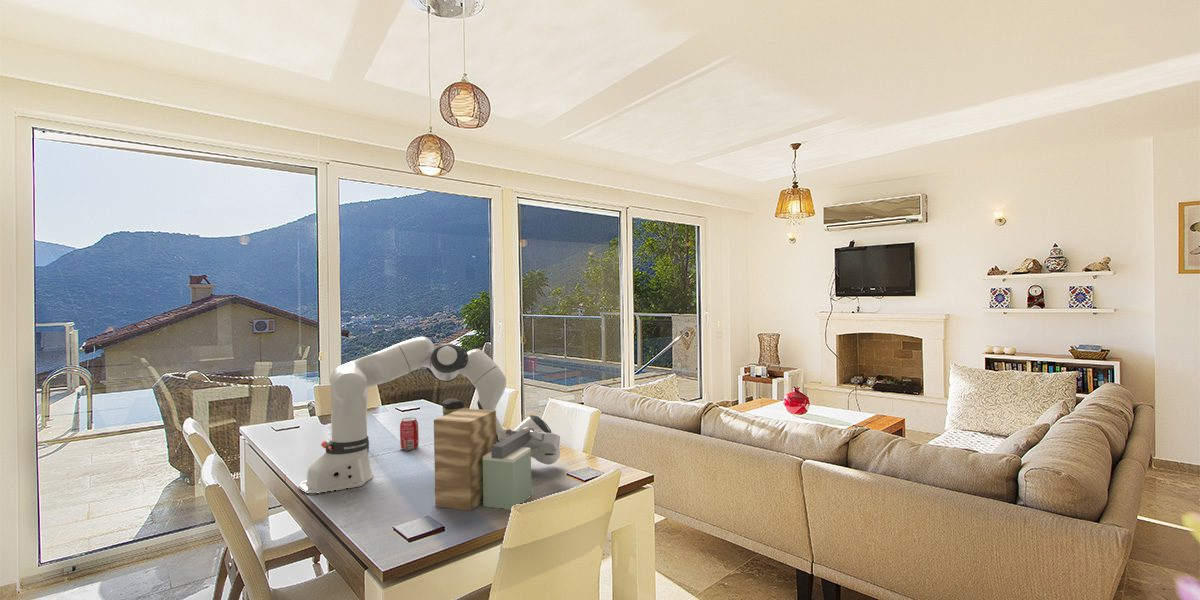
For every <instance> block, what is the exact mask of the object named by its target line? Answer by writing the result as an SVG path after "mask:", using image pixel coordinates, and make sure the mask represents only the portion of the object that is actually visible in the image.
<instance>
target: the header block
mask: <svg viewBox="0 0 1200 600" xmlns="http://www.w3.org/2000/svg"><path fill="white" fill-rule="evenodd" d="M529 496H530V497H531V496H532V457H531V448H527V447H521V448H519V449H517V450H516V451H514V452H512V453H511V454H509V455H508V456H506V457H504V458H503V459H498V458H491V452H489V453H488V454H486V455H484V456H483V502H482V503H483V504H482V505H483V507H485V506H487V508H493V507H494V508H493V509H500V508H504V509H503V510H508V511H512V510H511V507H512V506H513V505H516V504H520V503H522V504H523V503H524V502H525V501H527V500H528V499H529V498H530V497H529ZM528 497H529V498H528ZM527 498H528V499H527ZM524 500H525V501H524Z"/></svg>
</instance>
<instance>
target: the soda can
mask: <svg viewBox="0 0 1200 600" xmlns="http://www.w3.org/2000/svg"><path fill="white" fill-rule="evenodd" d="M399 440H400V441H399V442H400V448H401V449H402V450H403V449H404V450H403V451H412V449H413V450H415V449H417V448H418V447H419V440H420V439H419V422H418V421H417V417H405V418H402V419H401V422H400V423H399Z"/></svg>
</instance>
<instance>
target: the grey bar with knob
mask: <svg viewBox="0 0 1200 600" xmlns="http://www.w3.org/2000/svg"><path fill="white" fill-rule="evenodd" d="M530 431H534V428H529V427H524V428H522V429H521V430H519V431H518V432H516V433H514V434H512V435H510V436H509V437H507V438H505V439H503V440H501V441H500V442H498V443H496V444H494V445H492V446H491V458H498V459H503V458H504V457H506V456H508V455H509V454H511V453H512V452H514V451H516V450H517V449H519V448H521V447H522V446H524V445H525V444H527V443H529V440H530V439H531V437H530V436H529V435H530Z"/></svg>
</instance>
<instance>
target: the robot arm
mask: <svg viewBox="0 0 1200 600" xmlns="http://www.w3.org/2000/svg"><path fill="white" fill-rule="evenodd" d="M420 368H425V369H426V370H427V371H428V372H429V374H431V375H432V377H434V379H436V380H437V381H439V382H440V383H441V382H442V383H450V382H453V381H454V380H455V379H457V378H458V377H459V375H461V376H463V377H466V378H467V379H468V380H469V381H470V382H471V384H472V385H473V386H474V388H475V390H476V392H477V395H478V400H477V403H476V404H477V406H478V408H477V409H482V410H496V409H497V406H498V404H499V402H500V400H501V398H502V396H503V394H504V392H505V390H506V388H507V387H506V386H507V378H506V376H505V373H504V372H503V371H502V370H501V368H500V367H499V366H498V365H497V363H496V362H495V361H494V360H493V359H492V358H491V357H490V356H489V355H488V354H487V353H485V351H483V350H482V349H479V348H473V349H471V350H468V351H467V350H466V349H465V348H463V347H460V346H457V345H455V344H453V343H449V342H445V343H441V344H438V345H437V346H435V344H434V343H433V341H432V340H431V339H430V338H428V337H426V336H418V337H413V338H410V339H407V340H404V341H401V342H399V343H396V344H393V345H390V346H389V347H386V348H384V349H382V350H380V351H377V352H374V353H371V354H369V355H366V356H362V357H360V358H357V359H354V360H351V361H349V362H346V363H344V364H341V365H339V366H337V367H336V368H335V369H334V370H333V371H332V373H331V375H330V379H329V382H330V384H329V385H330V399H331V400H330V408H331V409H330V411H331V413H330V415H331V416H330V417H331V420H330V421H331V422H330V423H331V429H330V430H331V440H329V441H328V442H327V441H326V440H324V441H322V442H321V443H320V446H321V447H322V448H323V449H325V453H323V454H322V455H321V456H320V457H318V458H317V459H316V460H315V461H314V462H313V463H311V465H310V466H309V467H308V470H307V473H306V479H304V480H302V481H301V482H300V483H299V485H298V487H299V486H300V488H301V489H302V490H304V491H306V492H309V493H317V492H325V493H327V492H326V491H331V492H334V490H336V491H340V490H341V491H342V490H347V489H346V488H348V489H352V488H358V487H363V485H364V484H365V483H367V482H369V481H371V480H372V479H373V477H374V474H373V472H372V467H371V465H370V464H371V463H370V459H369V450H370V440H369V436H368V425H367V424H368V419H367V418H368V417H367V416H368V414H367V413H368V410H367V409H368V389H369V388H372V387H375V386H379V385H381V384H384V383H385V384H386V383H388V382H390V381H394V380H396V379H398V378H400V377H402V376H405V375H406V374H409V373H411V372H413V371H416V370H417V369H420ZM496 411H497V410H496ZM524 427H529V428H534V431H530V435H529V436H530V437H531V439H530V440H529V443H527V444H525V445H524V446H522V447H527V448H531V459H532V458H533V459H535V461H537V462H538V463H541V464H544V465H553V464H554V463H556V462H557V461H558V460H559V458H560V456H561V449H560V443H561V436H560V435H559V434H556V433H554V432H552V430H551V428H550V426H549V425H548V424H547V423H546V421H544V420H543V419H542V418H540V417H539V416H538V415H531V414H530V415H528V416H527V417H526V418H525V419H523V420H522V421H521V422H520V423H519V424H518V425H516V426H515V427H514V428H513V429H511V428H503V425H502V424H501V422H500V421H499V419H498V417H497V416H496V443H498V442H500V441H501V440H503V439H505V438H507V437H509V436H510V435H512V434H514V433H516V432H518V431H519V430H521V429H522V428H524ZM300 488H299V489H300Z"/></svg>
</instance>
